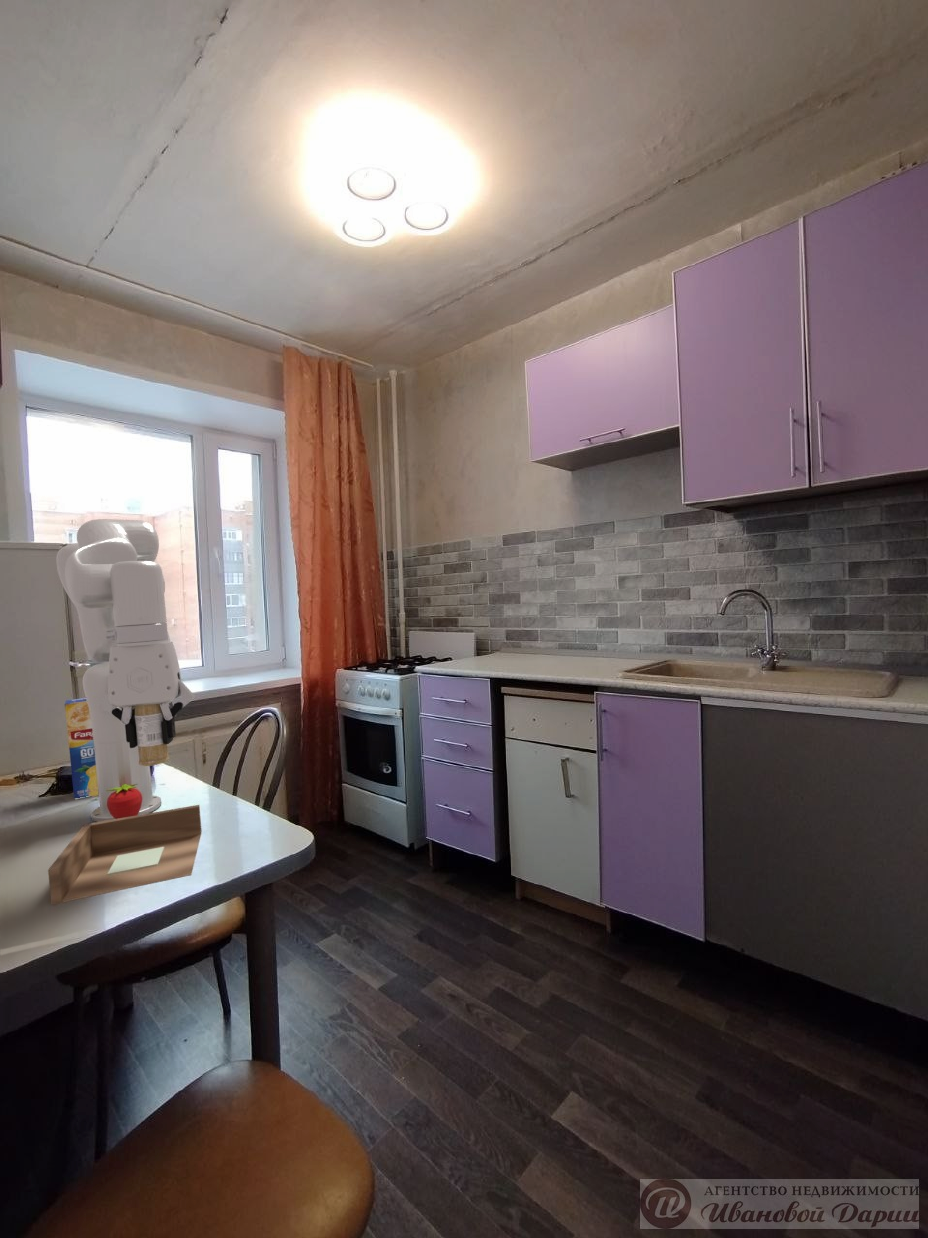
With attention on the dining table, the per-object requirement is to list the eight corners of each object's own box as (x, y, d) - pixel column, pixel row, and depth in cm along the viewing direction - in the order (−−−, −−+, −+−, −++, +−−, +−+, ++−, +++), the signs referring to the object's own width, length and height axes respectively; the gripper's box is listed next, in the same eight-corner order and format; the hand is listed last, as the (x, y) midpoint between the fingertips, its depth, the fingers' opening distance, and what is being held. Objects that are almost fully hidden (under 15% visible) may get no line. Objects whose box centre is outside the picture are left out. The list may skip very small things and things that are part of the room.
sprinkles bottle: (169, 757, 98) (163, 680, 98) (168, 763, 94) (161, 683, 93) (139, 762, 96) (132, 683, 96) (136, 769, 92) (129, 686, 91)
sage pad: (117, 856, 95) (117, 855, 95) (164, 847, 97) (164, 846, 97) (107, 875, 88) (107, 873, 88) (157, 865, 91) (157, 863, 91)
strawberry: (110, 839, 104) (105, 785, 104) (108, 827, 110) (103, 776, 110) (147, 830, 108) (142, 778, 107) (142, 818, 114) (138, 769, 113)
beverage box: (129, 788, 134) (121, 696, 133) (73, 800, 128) (64, 704, 127) (128, 781, 140) (120, 693, 139) (74, 792, 134) (65, 700, 133)
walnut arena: (87, 856, 97) (84, 824, 97) (201, 834, 103) (199, 804, 103) (51, 908, 80) (48, 869, 80) (191, 878, 87) (188, 842, 86)
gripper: (75, 641, 89) (86, 756, 89) (190, 633, 92) (200, 743, 93) (95, 638, 96) (105, 744, 97) (202, 630, 99) (210, 733, 100)
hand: (151, 743), depth 95 cm, fingers closed on sprinkles bottle, 4 cm apart
